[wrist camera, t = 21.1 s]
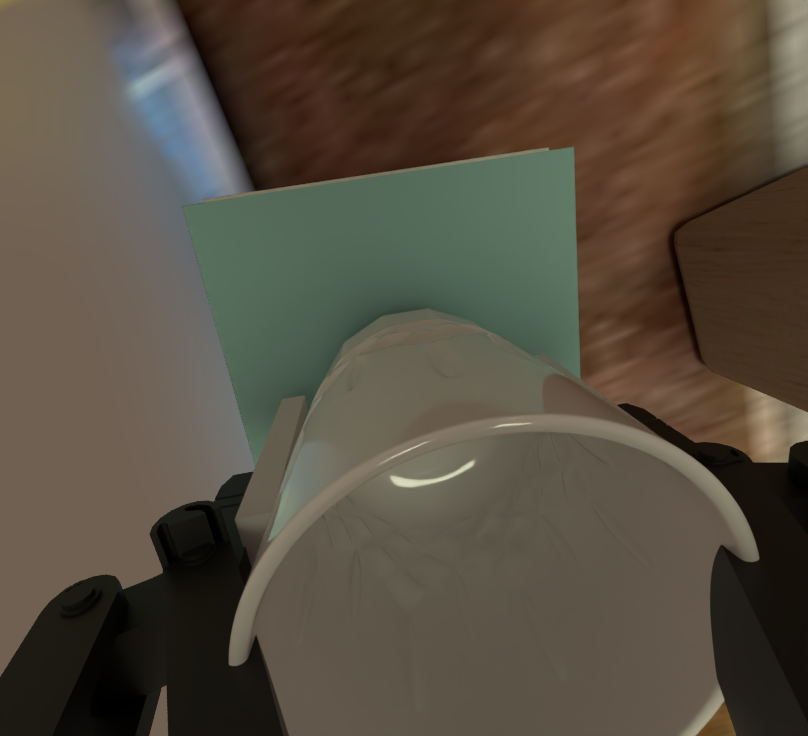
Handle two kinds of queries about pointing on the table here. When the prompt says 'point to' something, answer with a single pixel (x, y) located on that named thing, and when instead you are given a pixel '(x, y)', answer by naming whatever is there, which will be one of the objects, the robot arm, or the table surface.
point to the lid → (387, 268)
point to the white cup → (484, 552)
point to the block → (752, 288)
